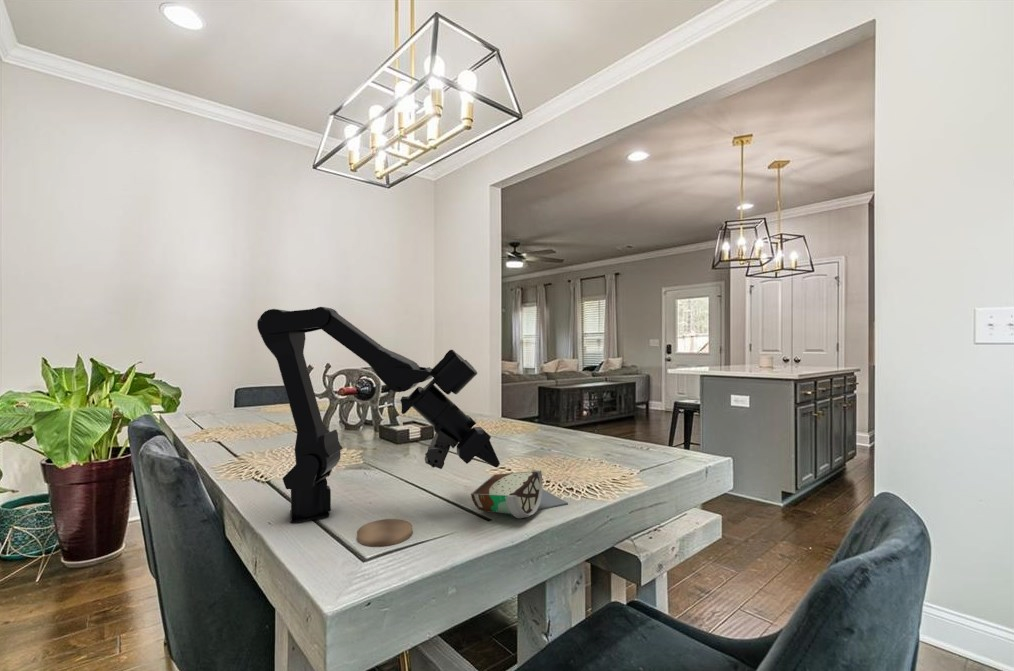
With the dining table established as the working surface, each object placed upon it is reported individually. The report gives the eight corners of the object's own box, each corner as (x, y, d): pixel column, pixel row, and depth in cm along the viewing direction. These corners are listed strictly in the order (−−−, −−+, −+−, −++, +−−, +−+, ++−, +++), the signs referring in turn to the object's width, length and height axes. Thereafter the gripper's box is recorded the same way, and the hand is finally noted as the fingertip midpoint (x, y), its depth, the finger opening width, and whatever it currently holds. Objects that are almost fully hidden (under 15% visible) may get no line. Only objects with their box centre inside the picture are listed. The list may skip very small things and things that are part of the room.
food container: (473, 530, 85) (522, 531, 81) (466, 497, 85) (515, 497, 80) (503, 500, 96) (548, 500, 92) (497, 471, 96) (542, 469, 91)
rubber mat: (508, 515, 87) (508, 514, 87) (481, 495, 98) (481, 494, 98) (568, 504, 92) (568, 502, 92) (535, 486, 104) (535, 485, 104)
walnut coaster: (361, 550, 73) (361, 544, 73) (353, 530, 81) (353, 524, 81) (418, 539, 77) (418, 533, 77) (405, 521, 85) (405, 515, 85)
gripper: (408, 434, 96) (462, 483, 99) (411, 455, 78) (477, 515, 81) (445, 394, 98) (498, 443, 101) (457, 405, 80) (521, 465, 83)
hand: (497, 465), depth 91 cm, fingers closed
